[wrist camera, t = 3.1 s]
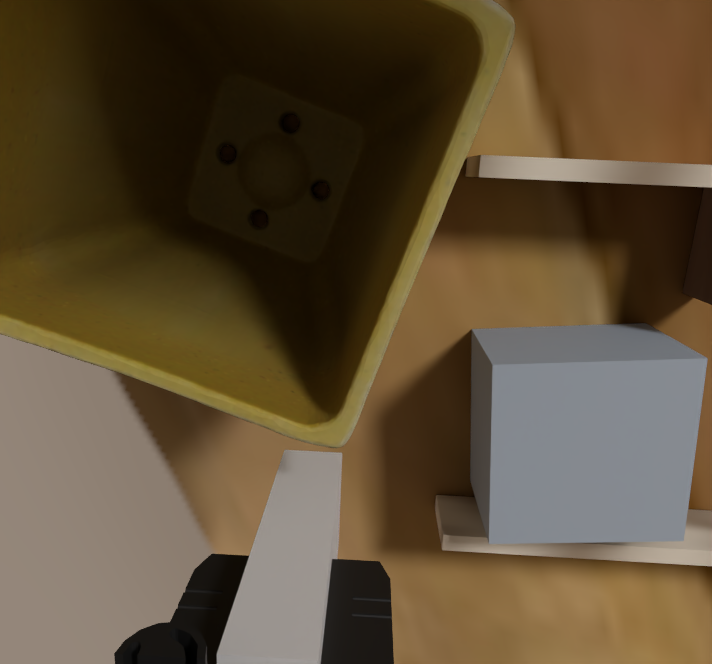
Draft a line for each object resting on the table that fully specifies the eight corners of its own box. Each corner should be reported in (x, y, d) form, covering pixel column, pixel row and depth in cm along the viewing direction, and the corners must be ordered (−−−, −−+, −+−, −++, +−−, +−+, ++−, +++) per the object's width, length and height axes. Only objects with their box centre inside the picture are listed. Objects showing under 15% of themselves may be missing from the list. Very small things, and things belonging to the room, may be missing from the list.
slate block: (469, 477, 22) (488, 543, 18) (470, 327, 20) (492, 364, 16) (629, 474, 21) (683, 541, 18) (643, 322, 20) (707, 358, 16)
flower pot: (456, 89, 18) (531, 10, 9) (357, 337, 20) (342, 461, 11) (190, -21, 17) (0, -217, 9) (120, 247, 20) (-84, 307, 11)
